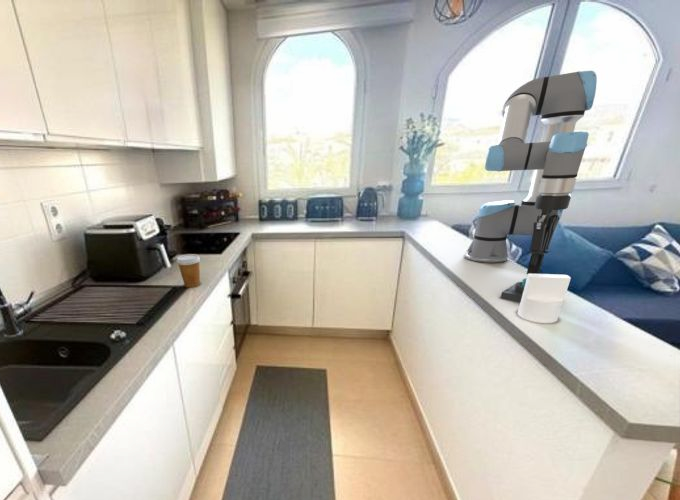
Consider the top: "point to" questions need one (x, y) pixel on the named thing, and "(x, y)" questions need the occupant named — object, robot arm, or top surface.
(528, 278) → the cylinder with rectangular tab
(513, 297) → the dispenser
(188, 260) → the disposable coffee cup
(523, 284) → the button
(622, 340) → the top surface
